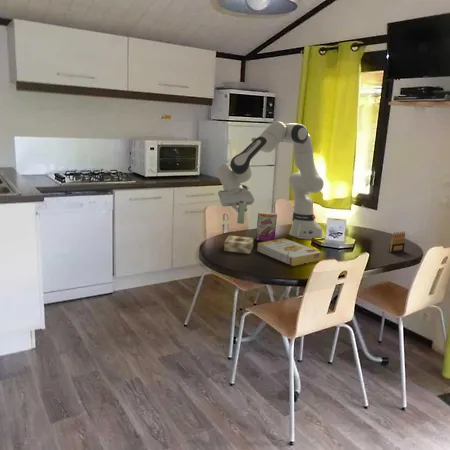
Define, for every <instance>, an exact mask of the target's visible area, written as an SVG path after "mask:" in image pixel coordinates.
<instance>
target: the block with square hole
mask: <svg viewBox="0 0 450 450" xmlns="http://www.w3.org/2000/svg"><path fill="white" fill-rule="evenodd" d="M254 240H255V238H254V237H249V236H237V235H228V236H227V238H225V240H224V242H223V243H224V244H223V251H224V252H232V253H233V252H234V253H239V254H240V253H242V254H251V252H252V250H253V249H254V244H255V241H254Z"/></svg>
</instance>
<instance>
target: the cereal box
mask: <svg viewBox="0 0 450 450" xmlns="http://www.w3.org/2000/svg"><path fill="white" fill-rule="evenodd" d="M256 251H257V252H259V253H261V254H263V255H265V256H268V257H270V258H273V259H276V260H277V261H280V262H282V263H285V264H287V265H289V264H290V266H292V267H294V266H301V265H304V263H306V264H309V262H311V263H314V262H315V263H316V262H319V261H321V256H322V252H321V251H319V250H316V249H314V248H312V247H309V246H306V245H304V244H301V243H298V242H296V241H293V240H290V239H287V238H286V237H285V238H284V237H283V238H278V239H277V238H276V239H275V240H271V241H260V242H257V250H256Z"/></svg>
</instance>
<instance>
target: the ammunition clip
mask: <svg viewBox="0 0 450 450" xmlns="http://www.w3.org/2000/svg"><path fill="white" fill-rule="evenodd" d="M405 241H406V231H395V232H393V233H392V235H391V240H390V244H389V249H388V253H390V254H395V253H394V252H396V253H401V251H403V252H405V244H406V243H405Z"/></svg>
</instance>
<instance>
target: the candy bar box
mask: <svg viewBox="0 0 450 450" xmlns="http://www.w3.org/2000/svg"><path fill="white" fill-rule="evenodd" d="M277 218H278V214H277V213H275V212H274V213H273V212H265V211H264V212H263V211H258V212H257V223H256V231H255V232H256V234H255V241H260V242H266V241H271V240H276V231H277V230H276V229H277Z"/></svg>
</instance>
